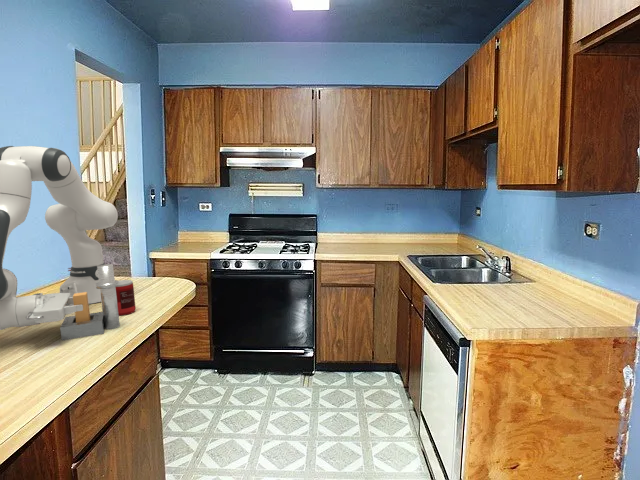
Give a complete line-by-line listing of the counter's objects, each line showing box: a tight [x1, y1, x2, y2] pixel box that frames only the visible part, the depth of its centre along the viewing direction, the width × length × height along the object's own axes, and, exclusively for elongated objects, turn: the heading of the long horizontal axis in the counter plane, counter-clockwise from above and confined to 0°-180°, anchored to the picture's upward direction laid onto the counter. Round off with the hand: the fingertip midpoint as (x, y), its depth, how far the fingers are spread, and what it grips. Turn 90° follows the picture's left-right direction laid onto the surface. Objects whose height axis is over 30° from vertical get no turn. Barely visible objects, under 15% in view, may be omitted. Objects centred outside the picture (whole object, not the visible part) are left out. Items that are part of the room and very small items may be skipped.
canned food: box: [116, 279, 137, 317], centre depth 149 cm, size 8×8×11 cm
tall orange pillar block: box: [73, 292, 91, 323], centre depth 130 cm, size 4×4×12 cm
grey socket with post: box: [59, 263, 121, 341], centre depth 131 cm, size 16×11×20 cm
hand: (84, 303), depth 130 cm, fingers open, 8 cm apart
